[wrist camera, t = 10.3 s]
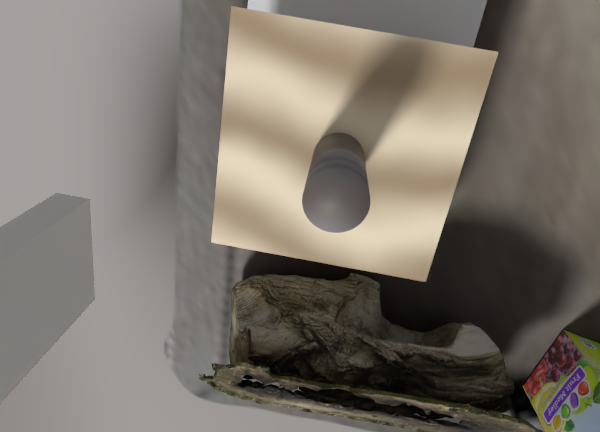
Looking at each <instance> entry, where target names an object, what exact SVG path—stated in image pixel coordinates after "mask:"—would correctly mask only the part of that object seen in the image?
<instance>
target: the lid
mask: <svg viewBox="0 0 600 432" xmlns="http://www.w3.org/2000/svg"><path fill="white" fill-rule="evenodd" d="M498 53H499V52H496V51H490V50H485V49H479V48H473V47H467V46H461V45H456V44H450V43H444V42H438V41H432V40H426V39H421V38H415V37H409V36H403V35H397V34H391V33H386V32H380V31H374V30H368V29H362V28H356V27H351V26H345V25H339V24H333V23H327V22H321V21H316V20H310V19H304V18H298V17H292V16H286V15H281V14H275V13H269V12H263V11H257V10H251V9H246V8H240V7H234V6H231V16H230V28H229V40H228V51H227V63H226V75H225V87H224V98H223V110H222V122H221V133H220V145H219V157H218V169H217V180H216V192H215V204H214V216H213V227H212V239H211V243H217V244H222V245H228V246H233V247H239V248H244V249H249V250H255V251H260V252H266V253H271V254H276V255H282V256H287V257H293V258H298V259H304V260H309V261H314V262H320V263H325V264H331V265H336V266H341V267H347V268H352V269H358V270H363V271H369V272H374V273H379V274H385V275H390V276H396V277H401V278H406V279H412V280H417V281H423V282H426V279H427V276H428V273H429V270H430V267H431V264H432V260H433V257H434V254H435V251H436V248H437V245H438V242H439V238H440V235H441V232H442V229H443V226H444V223H445V220H446V216H447V213H448V210H449V207H450V204H451V201H452V197H453V194H454V191H455V188H456V185H457V182H458V179H459V175H460V172H461V169H462V166H463V163H464V160H465V157H466V153H467V150H468V147H469V144H470V141H471V138H472V135H473V131H474V128H475V125H476V122H477V119H478V116H479V112H480V109H481V106H482V103H483V100H484V97H485V94H486V90H487V87H488V84H489V81H490V78H491V75H492V72H493V68H494V65H495V62H496V59H497V56H498Z"/></svg>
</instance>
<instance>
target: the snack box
mask: <svg viewBox="0 0 600 432" xmlns="http://www.w3.org/2000/svg"><path fill="white" fill-rule="evenodd" d="M523 388H524V390H525V392H526V394H527V396H528V398H529V399H530V402H531V403H532V405H533V407H534V409H535V411H536V413H537V415H538V417H539V419H540V421H541V424H542V426H543V428H544V430H545V432H600V343H598V342H595V341H592V340H590V339H587V338H584V337H581V336H578V335H576V334H573V333H570V332H568V331H566V330H563V331H562V332H561V334H560V335H559V336H558V338H557V339H556V341H555V342H554V344H553V345H552V347H551V348H550V349H549V351H548V352H547V353H546V355H545V356H544V358H543V359H542V360H541V362H540V363H539V365H538V366H537V367H536V369H535V370H534V372H533V373H532V374H531V376H530V377H529V379H528V380H527V381H526V382H525V384H524V385H523Z"/></svg>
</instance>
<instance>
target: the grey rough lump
mask: <svg viewBox="0 0 600 432" xmlns="http://www.w3.org/2000/svg"><path fill="white" fill-rule="evenodd" d="M229 357H230V363H231V364H229V365H221V364H215V363H214V364H212V368H213V370H215V374H214V377H213V376H205V374H201V375H200V374H199V379H201V380H203V381H208V382H207V383H208V384H210V385H211V386H212V387H213V388H214V389H216V390H218V391H222V392H225V393H227V394H228V395H231V396H235V397H238V398H241V399H244V400H253V401H254V402H256V403H259V404H264V405H270V406H271V405H277V406H283V407H287V408H296V409H299V410H302V411H306V412H313V413H321V414H327V415H334V416H341V417H345V418H351V419H355V420H360V421H370V422H373V423H377V424H382V425H388V426H397V427H401V428H407V429H413V430H415V431H417V432H543V431H542V430H538V429H537V428H535V427H534V426H533V425H531V424H530V423H529V422H527V421H525V420H523V419H516V418H513V417H510V416H508V415H504V414H502V413H503V412H507V411H508V410H509V409H510V408H511V405H512V401H511V395H512V394H513V391H514V385H513V381H511V380H510V379H509V377H508V375H507V373H506V369H505V363H504V359H503V356H502V353H500V349H499V348H498V347H497V346H496V344H495V343H494V342H493V341H492V339H491V338H490V337H489V336H488V335H487V334H486V333H485V332H484V331H483V330H482V329H481V328H479V327H477V326H475V325H473V324H472V323H471V322H470V323H461V324H460V323H449V324H446V325H443V326H441V327H438V328H436V329H433V330H431V331H428V332H416V331H413V330H409V329H406V328H403V327H401V326H398V325H395V324H392V323H390V322H389V321H388V320H387V319H385V318H384V317H383V316H382V313H381V304H380V285H379V283H378V282H376V281H374V280H372V279H370V278H368V277H367V276H363V275H358V274H354V273H350V275H349V276H348V278H346V279H342V280H336V281H329V280H325V279H313V278H308V277H301V276H297V275H288V276H281V275H271V274H266V275H262V276H252V277H249V278H247V279H245V280H243V281H240V282H238V283H236V284H235V285H234V287H233V288H232V299H231V329H230V340H229ZM242 378H245V379H248V380H242ZM249 379H257V380H259V381H261V382H262V383H260V382H257V381H256V382H252V381H250V380H249ZM274 382H277V383H279V384H280V386H283V388H279V387H280V386H279V387H278V386H275V385H271V384H270V385H266V386H265V385H264V384H269V383H274ZM298 387H299V389H300V390H301V391H302V392H301V391H299V390H296V391H295V392H292V391H291V390H293V389H297V388H298ZM415 413H418V414H419V415H420V416H423V417H420V416H418V415H415ZM424 417H426V418H424ZM443 417H448V418H457V419H460V420H461V421H460V423H459V424H458V423H452V422H449V421H445V420H434V419H439V418H443Z"/></svg>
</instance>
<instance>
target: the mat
mask: <svg viewBox="0 0 600 432" xmlns="http://www.w3.org/2000/svg"><path fill="white" fill-rule="evenodd" d="M486 3H487V0H248V8H247V9H251V10H257V11H263V12H269V13H275V14H281V15H286V16H292V17H298V18H304V19H310V20H316V21H321V22H327V23H333V24H339V25H345V26H351V27H356V28H362V29H368V30H374V31H380V32H386V33H391V34H397V35H403V36H409V37H415V38H421V39H426V40H432V41H438V42H444V43H450V44H456V45H461V46H467V47H474V44H475V40H476V37H477V33H478V30H479V27H480V23H481V20H482V16H483V13H484V10H485V6H486Z"/></svg>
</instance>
